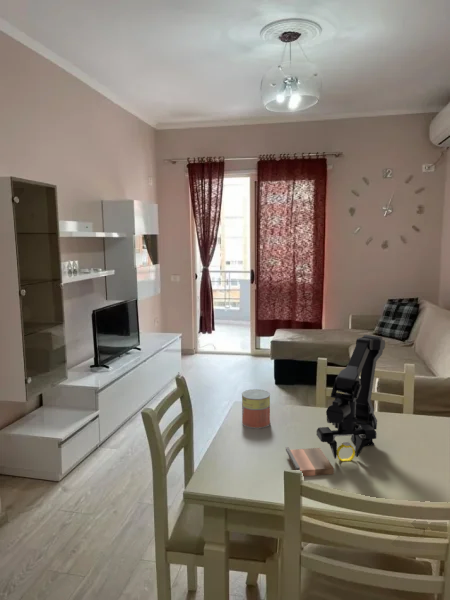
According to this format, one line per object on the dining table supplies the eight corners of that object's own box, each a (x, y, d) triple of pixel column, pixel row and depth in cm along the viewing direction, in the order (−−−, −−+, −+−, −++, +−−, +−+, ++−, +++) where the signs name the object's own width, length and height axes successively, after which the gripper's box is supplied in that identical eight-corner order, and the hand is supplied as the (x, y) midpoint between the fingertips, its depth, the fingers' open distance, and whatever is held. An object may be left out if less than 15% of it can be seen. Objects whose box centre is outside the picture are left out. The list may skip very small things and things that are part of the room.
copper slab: (319, 453, 158) (319, 445, 158) (333, 474, 145) (333, 465, 144) (285, 455, 157) (285, 447, 157) (296, 476, 143) (296, 467, 143)
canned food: (244, 416, 192) (244, 388, 190) (271, 418, 189) (271, 390, 188) (239, 427, 181) (239, 398, 179) (268, 429, 178) (268, 399, 177)
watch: (352, 458, 155) (353, 442, 154) (355, 462, 152) (357, 445, 151) (335, 458, 154) (336, 441, 154) (337, 462, 152) (339, 445, 151)
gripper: (363, 402, 160) (362, 444, 162) (311, 405, 158) (311, 448, 160) (378, 414, 149) (376, 459, 151) (322, 418, 147) (321, 463, 149)
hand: (345, 457), depth 153 cm, fingers open, 7 cm apart
